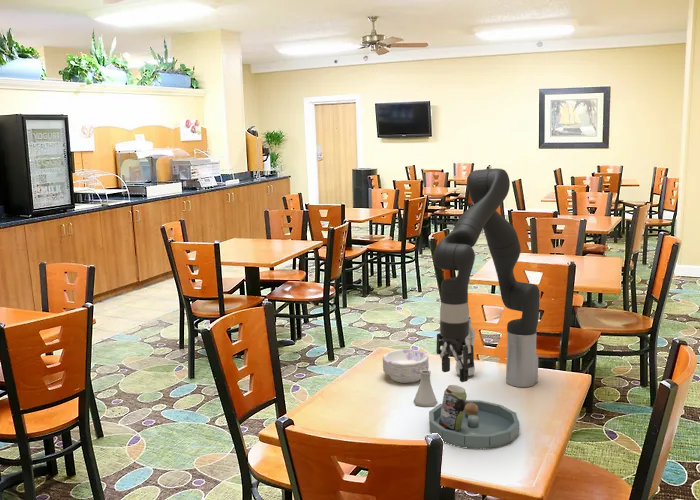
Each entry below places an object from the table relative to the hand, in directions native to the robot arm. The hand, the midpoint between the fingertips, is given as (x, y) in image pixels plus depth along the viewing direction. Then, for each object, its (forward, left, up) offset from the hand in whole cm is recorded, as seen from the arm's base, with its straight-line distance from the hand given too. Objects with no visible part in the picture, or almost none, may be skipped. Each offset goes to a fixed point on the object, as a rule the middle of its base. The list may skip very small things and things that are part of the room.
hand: (454, 376), depth 181 cm
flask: (-4, -22, -17) cm, 28 cm away
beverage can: (0, -1, -16) cm, 16 cm away
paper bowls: (-9, -43, -17) cm, 47 cm away
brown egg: (-9, -6, -15) cm, 19 cm away
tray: (-6, 0, -16) cm, 18 cm away
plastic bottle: (-28, -36, -17) cm, 49 cm away
